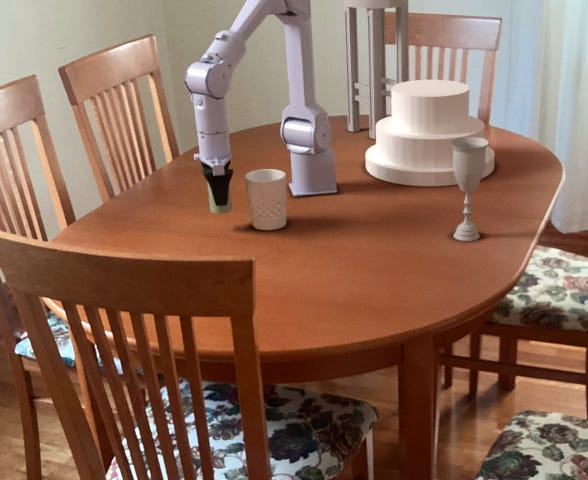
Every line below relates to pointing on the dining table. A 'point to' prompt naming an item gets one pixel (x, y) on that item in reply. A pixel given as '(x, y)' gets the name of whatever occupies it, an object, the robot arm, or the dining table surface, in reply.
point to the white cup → (267, 198)
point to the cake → (424, 134)
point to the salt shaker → (219, 209)
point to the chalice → (468, 178)
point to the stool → (373, 58)
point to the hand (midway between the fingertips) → (220, 201)
